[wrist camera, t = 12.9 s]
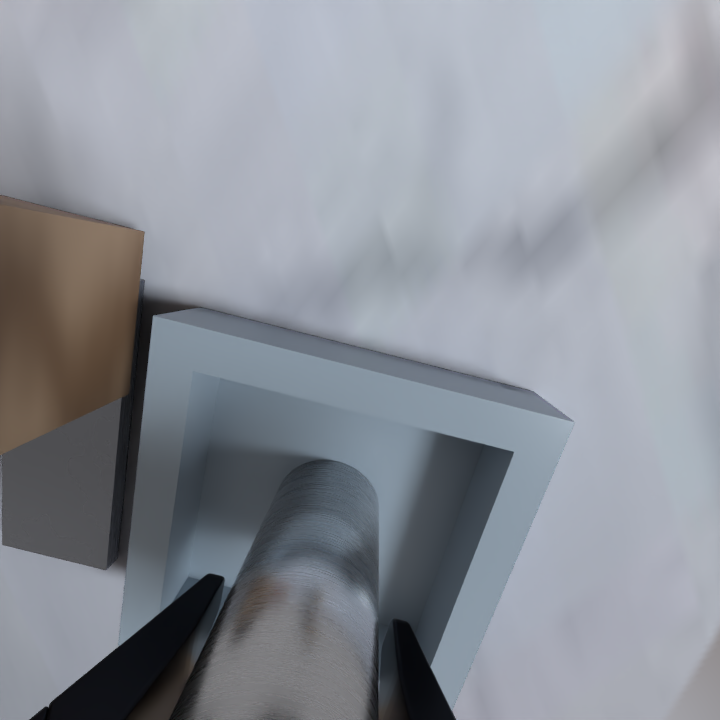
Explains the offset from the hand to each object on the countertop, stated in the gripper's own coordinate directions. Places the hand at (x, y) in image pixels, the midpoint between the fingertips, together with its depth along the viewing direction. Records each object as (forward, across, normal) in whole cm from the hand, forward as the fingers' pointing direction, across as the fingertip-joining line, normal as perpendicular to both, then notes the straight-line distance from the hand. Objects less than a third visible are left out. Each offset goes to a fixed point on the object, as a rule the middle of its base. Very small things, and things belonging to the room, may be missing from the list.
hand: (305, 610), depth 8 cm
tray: (+4, 0, 0) cm, 5 cm away
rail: (+4, +10, -1) cm, 11 cm away
